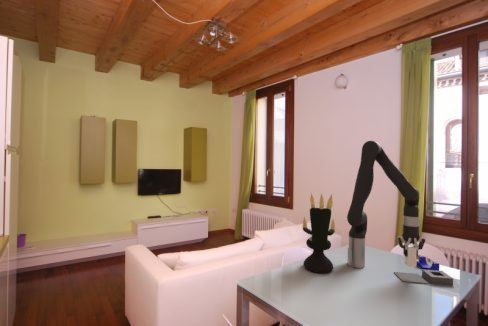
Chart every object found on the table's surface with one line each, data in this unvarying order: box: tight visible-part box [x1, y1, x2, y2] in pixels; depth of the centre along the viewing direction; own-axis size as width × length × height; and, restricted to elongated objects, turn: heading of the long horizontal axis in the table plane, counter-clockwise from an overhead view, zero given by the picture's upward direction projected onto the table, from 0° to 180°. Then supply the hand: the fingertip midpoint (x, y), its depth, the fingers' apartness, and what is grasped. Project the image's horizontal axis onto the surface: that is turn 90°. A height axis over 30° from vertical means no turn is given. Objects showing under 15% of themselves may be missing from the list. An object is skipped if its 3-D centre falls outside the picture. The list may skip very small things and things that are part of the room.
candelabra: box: [302, 192, 336, 274], centre depth 154 cm, size 19×22×45 cm
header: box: [421, 269, 454, 286], centre depth 142 cm, size 10×10×4 cm
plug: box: [404, 245, 417, 268], centre depth 144 cm, size 4×4×10 cm
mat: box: [393, 271, 429, 285], centre depth 144 cm, size 12×12×1 cm
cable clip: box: [416, 255, 440, 271], centre depth 157 cm, size 12×4×6 cm, turn 4°
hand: (410, 256), depth 144 cm, fingers closed on plug, 4 cm apart
